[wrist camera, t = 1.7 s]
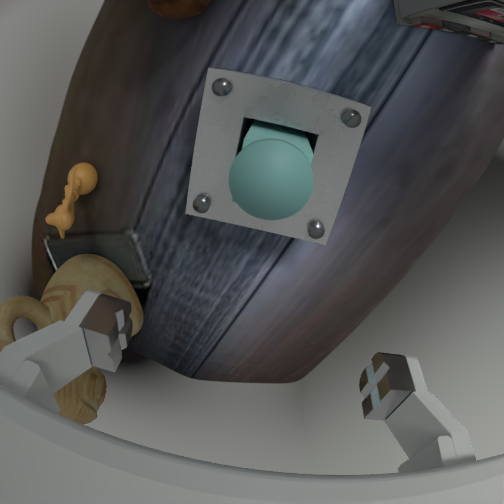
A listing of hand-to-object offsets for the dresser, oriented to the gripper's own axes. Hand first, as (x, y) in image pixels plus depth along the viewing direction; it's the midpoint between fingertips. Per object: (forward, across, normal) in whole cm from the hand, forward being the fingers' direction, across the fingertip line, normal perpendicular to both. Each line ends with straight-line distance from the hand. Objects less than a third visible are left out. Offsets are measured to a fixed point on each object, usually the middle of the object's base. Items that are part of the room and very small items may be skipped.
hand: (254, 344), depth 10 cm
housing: (+28, 0, 0) cm, 28 cm away
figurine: (+28, +21, +8) cm, 36 cm away
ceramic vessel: (+28, +21, +26) cm, 43 cm away
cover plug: (+28, 0, 0) cm, 28 cm away
